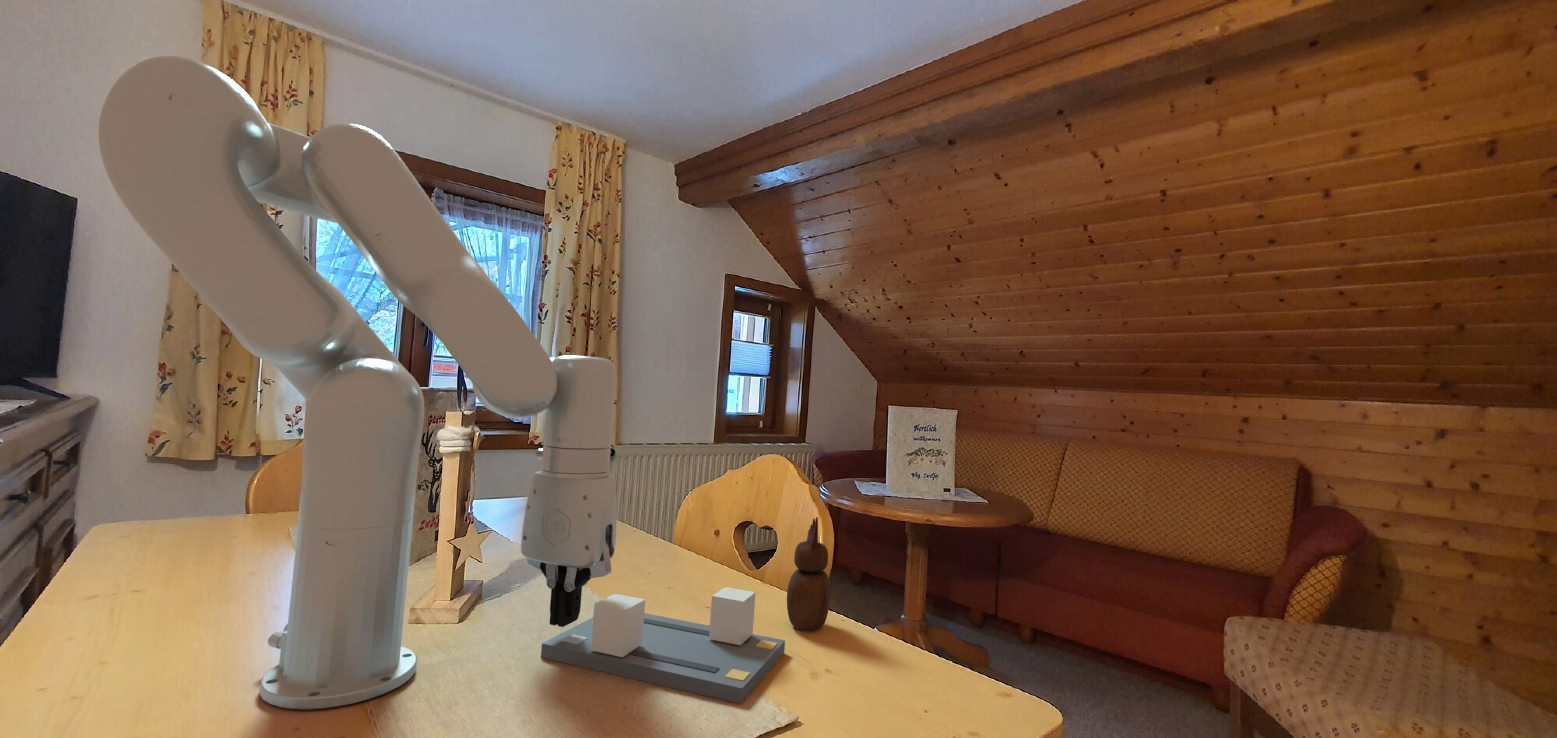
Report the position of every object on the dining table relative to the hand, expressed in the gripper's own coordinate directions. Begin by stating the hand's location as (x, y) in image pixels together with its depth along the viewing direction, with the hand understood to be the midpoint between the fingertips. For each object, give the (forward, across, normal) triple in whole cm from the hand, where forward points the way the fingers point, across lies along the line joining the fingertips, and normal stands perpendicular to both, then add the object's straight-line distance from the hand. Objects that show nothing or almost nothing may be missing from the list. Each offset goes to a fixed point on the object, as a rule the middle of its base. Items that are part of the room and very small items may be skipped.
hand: (564, 621), depth 72 cm
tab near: (+1, +7, 0) cm, 7 cm away
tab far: (+2, +17, +9) cm, 19 cm away
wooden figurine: (+4, +23, +21) cm, 32 cm away
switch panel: (+3, +11, +4) cm, 12 cm away
